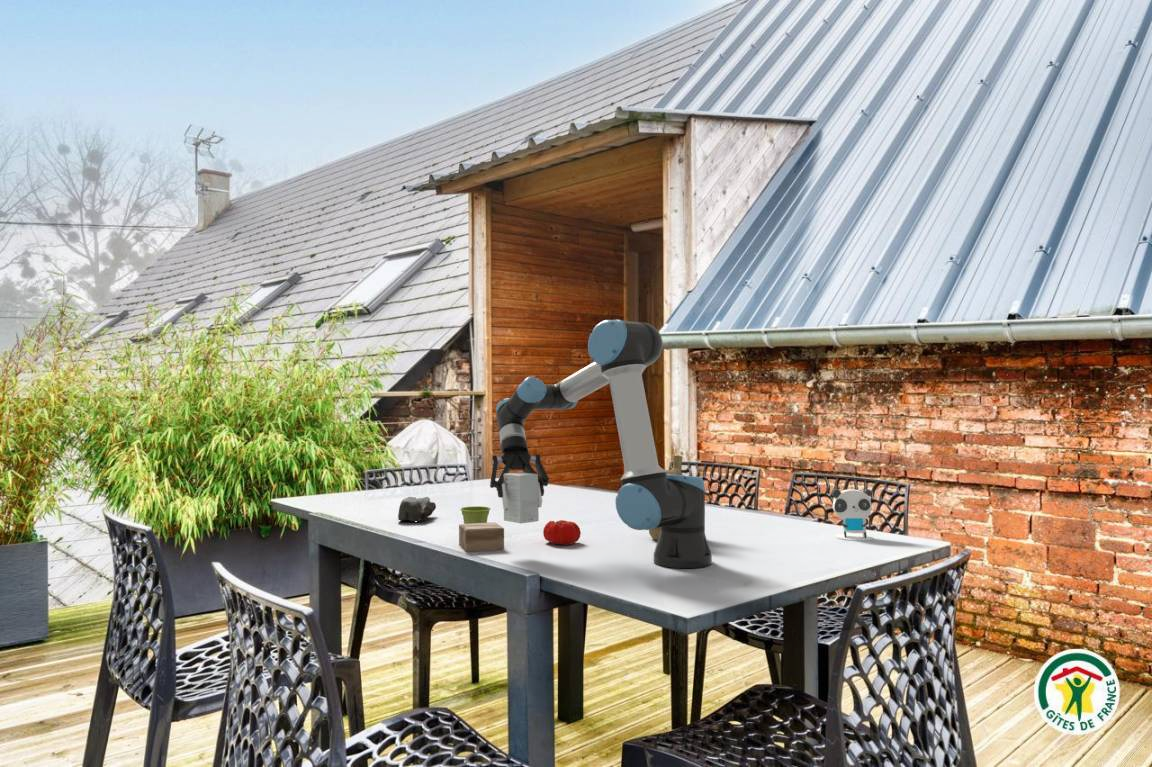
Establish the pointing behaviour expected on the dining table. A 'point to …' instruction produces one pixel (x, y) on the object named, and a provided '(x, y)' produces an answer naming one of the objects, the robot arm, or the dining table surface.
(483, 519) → the plant pot
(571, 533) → the tomato
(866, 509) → the panda figurine
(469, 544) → the walnut block
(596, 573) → the dining table surface
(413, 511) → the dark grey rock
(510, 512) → the small box
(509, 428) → the robot arm
